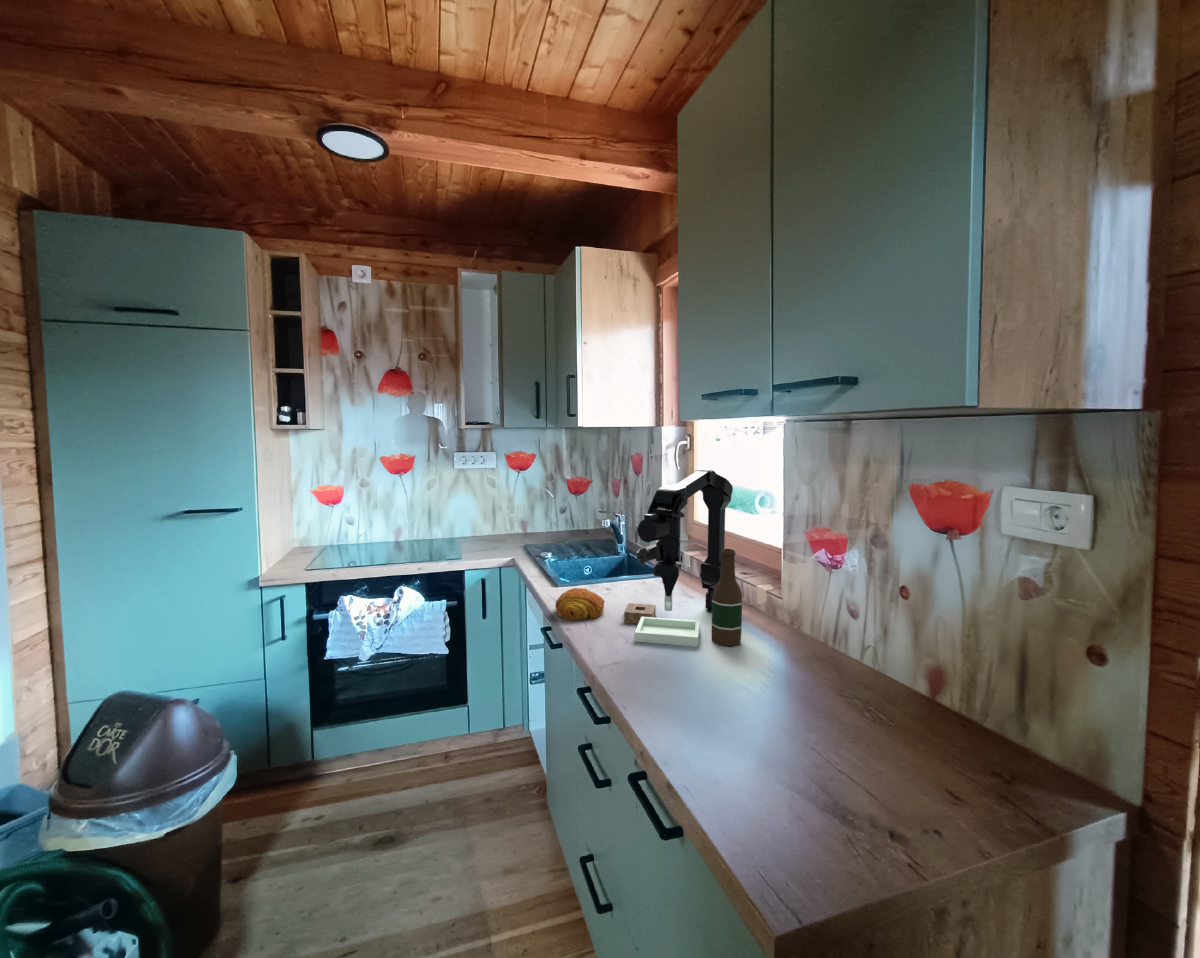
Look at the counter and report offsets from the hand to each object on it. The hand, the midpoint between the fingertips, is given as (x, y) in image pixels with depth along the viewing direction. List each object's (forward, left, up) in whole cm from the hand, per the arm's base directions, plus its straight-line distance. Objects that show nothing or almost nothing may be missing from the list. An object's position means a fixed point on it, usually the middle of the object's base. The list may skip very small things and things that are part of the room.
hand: (668, 594), depth 141 cm
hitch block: (+9, -11, -11) cm, 18 cm away
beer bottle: (-15, +1, -11) cm, 19 cm away
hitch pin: (0, 0, -4) cm, 4 cm away
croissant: (+27, -12, -12) cm, 32 cm away
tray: (0, 0, -11) cm, 11 cm away
